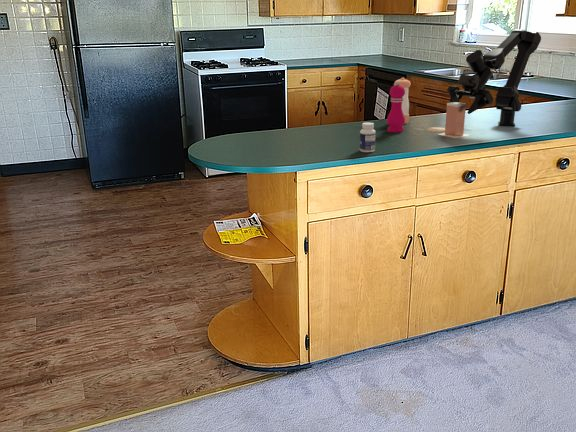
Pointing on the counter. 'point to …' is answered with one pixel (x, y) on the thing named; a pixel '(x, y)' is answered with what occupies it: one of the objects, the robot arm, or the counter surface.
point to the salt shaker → (405, 98)
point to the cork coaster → (436, 129)
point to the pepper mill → (396, 109)
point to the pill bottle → (367, 137)
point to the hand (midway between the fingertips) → (458, 111)
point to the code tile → (454, 136)
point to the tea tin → (455, 119)
